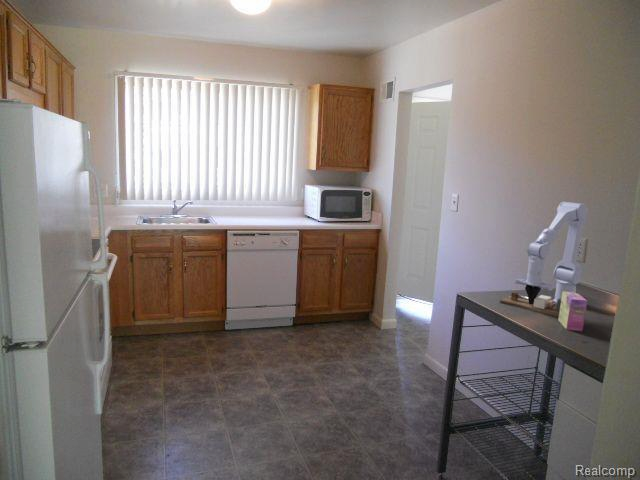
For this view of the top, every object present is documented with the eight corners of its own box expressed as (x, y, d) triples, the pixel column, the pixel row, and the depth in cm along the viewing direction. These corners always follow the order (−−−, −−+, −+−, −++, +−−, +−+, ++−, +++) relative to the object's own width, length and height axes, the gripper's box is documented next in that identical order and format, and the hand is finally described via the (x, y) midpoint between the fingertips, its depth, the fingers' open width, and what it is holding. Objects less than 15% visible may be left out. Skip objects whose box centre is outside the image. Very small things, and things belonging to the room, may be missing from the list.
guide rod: (515, 296, 205) (515, 294, 205) (562, 307, 193) (562, 304, 192) (514, 297, 204) (514, 294, 204) (561, 307, 192) (561, 305, 191)
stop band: (550, 306, 196) (551, 299, 196) (553, 306, 195) (554, 300, 195) (548, 307, 194) (549, 300, 194) (551, 308, 193) (552, 301, 193)
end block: (559, 309, 195) (560, 297, 194) (566, 310, 193) (568, 299, 192) (556, 311, 192) (557, 299, 191) (564, 312, 190) (565, 300, 189)
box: (583, 331, 172) (587, 300, 170) (566, 329, 173) (570, 298, 171) (574, 322, 182) (578, 292, 180) (558, 320, 183) (562, 291, 181)
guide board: (509, 297, 212) (510, 288, 211) (573, 312, 195) (574, 301, 194) (499, 302, 204) (500, 292, 203) (565, 318, 186) (566, 307, 186)
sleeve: (540, 302, 202) (541, 294, 201) (550, 304, 199) (551, 297, 199) (533, 306, 195) (534, 298, 195) (543, 309, 193) (544, 301, 192)
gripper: (513, 269, 197) (510, 301, 199) (550, 276, 187) (546, 309, 189) (520, 267, 202) (516, 298, 204) (556, 274, 192) (552, 306, 195)
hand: (531, 303), depth 197 cm, fingers closed
